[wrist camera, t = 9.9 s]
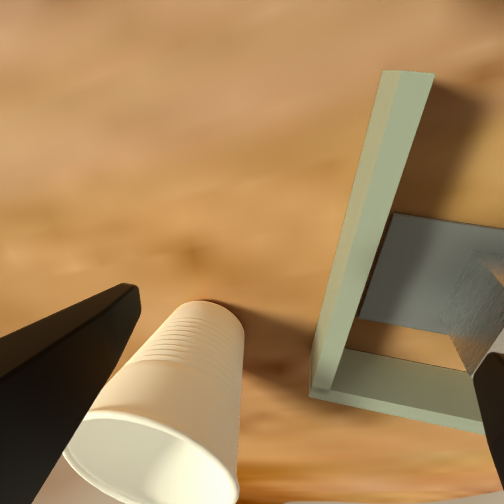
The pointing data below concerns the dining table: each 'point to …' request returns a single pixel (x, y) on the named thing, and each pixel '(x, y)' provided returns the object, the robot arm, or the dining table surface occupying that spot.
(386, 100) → the corner frame
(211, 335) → the cup
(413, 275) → the pad
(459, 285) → the bracket
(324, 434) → the dining table surface
